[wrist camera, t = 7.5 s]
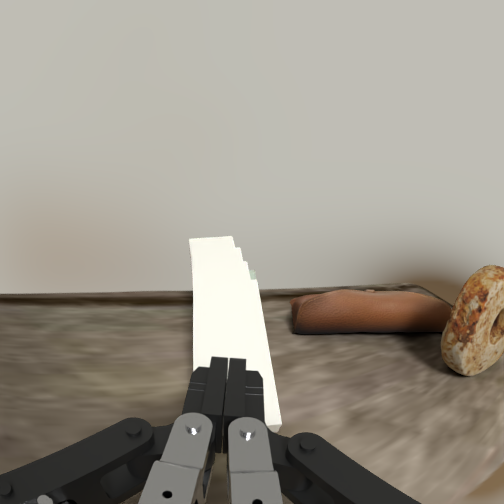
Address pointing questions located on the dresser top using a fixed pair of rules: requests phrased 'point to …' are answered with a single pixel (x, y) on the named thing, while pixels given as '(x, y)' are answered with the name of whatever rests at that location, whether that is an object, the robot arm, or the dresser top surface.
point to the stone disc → (476, 323)
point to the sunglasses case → (368, 312)
